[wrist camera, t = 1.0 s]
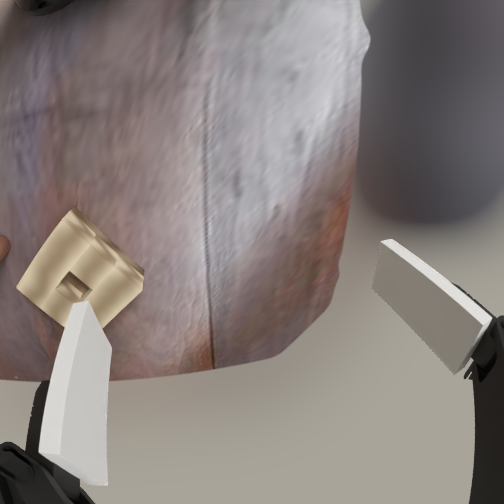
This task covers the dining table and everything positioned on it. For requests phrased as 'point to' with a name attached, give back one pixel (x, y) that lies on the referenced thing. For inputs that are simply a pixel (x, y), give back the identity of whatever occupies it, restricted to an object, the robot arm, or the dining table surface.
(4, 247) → the pin
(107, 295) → the bore block
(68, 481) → the robot arm
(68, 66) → the dining table surface
